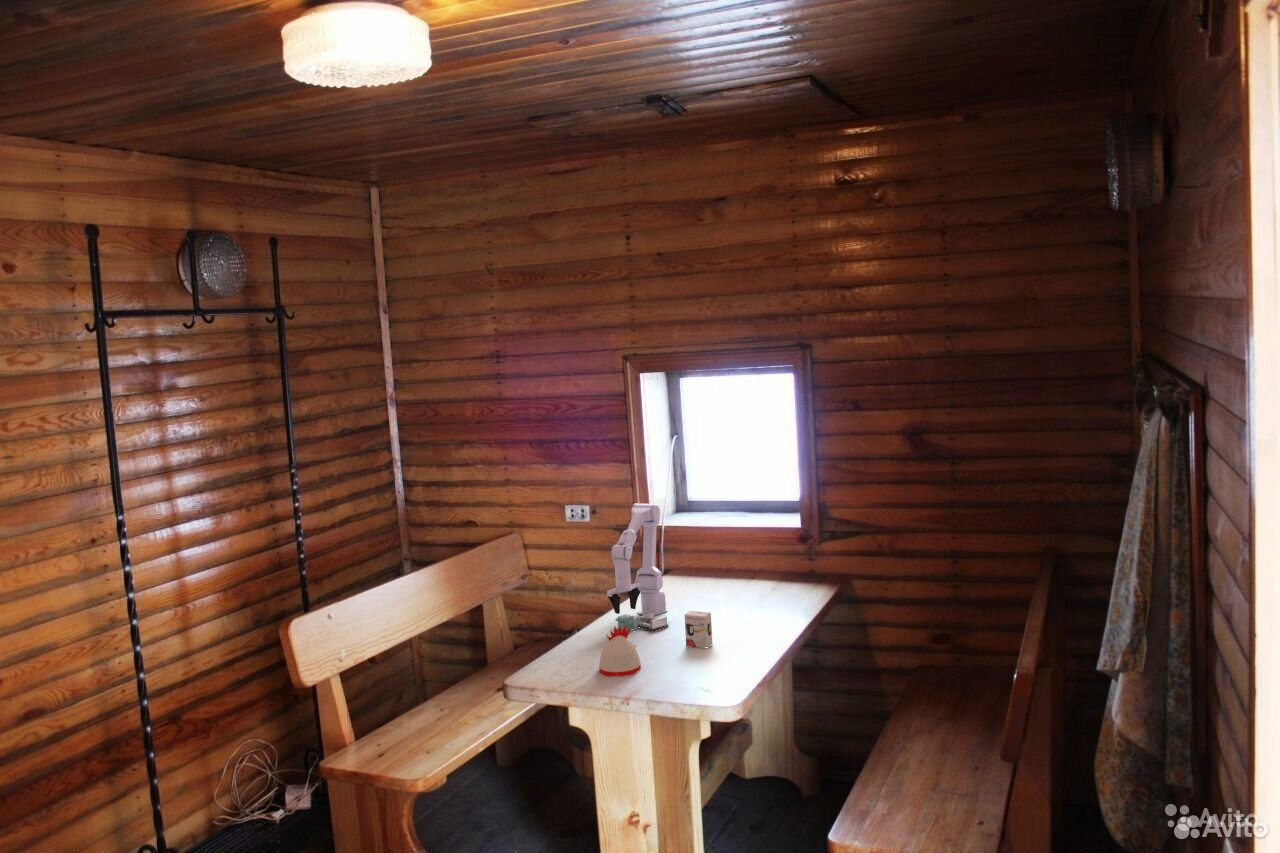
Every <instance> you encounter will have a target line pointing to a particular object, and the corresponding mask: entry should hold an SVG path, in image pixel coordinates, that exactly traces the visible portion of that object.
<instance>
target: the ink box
mask: <svg viewBox="0 0 1280 853" xmlns="http://www.w3.org/2000/svg"><path fill="white" fill-rule="evenodd" d="M684 630H685V631H684V632H685V647H686V646H693V647H692V648H696V647H709V646H710V645H711V644H713V626H712V613H711V612H708V611H700V610H699V611H697V610H696V611H695V610H689V611H688V612H686V613H685V614H684ZM710 647H711V646H710ZM710 647H709V648H710Z"/></svg>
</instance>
